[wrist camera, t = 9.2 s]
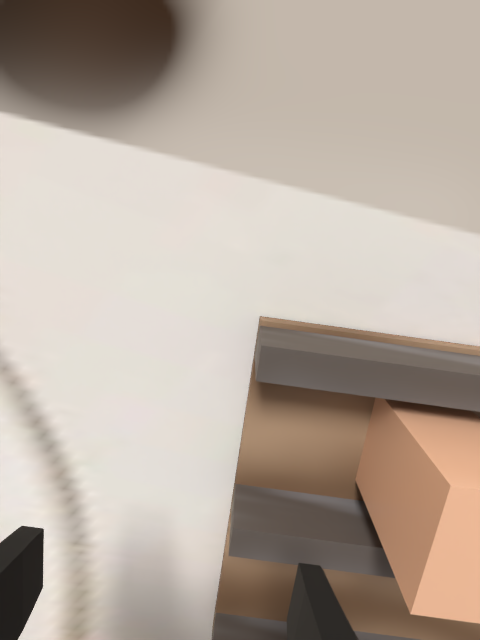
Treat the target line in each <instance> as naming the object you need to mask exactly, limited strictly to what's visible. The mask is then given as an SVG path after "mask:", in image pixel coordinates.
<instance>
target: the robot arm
mask: <svg viewBox="0 0 480 640" xmlns="http://www.w3.org/2000/svg"><path fill="white" fill-rule="evenodd" d="M43 538H44V529H42V528H35V527H27V526H21V527H20V528H18V529H17V530H16V531H14V532H13V533H12V534H11V535H9V536H8V537H7V538H6V539H4V540H3V541H2V542H1V543H0V640H18V638H19V636H20V634H21V633H22V631H23V629H24V627H25V625H26V623H27V620H28V618H29V616H30V614H31V612H32V610H33V608H34V605H35V603H36V601H37V599H38V597H39V594H40V592H41V590H42V588H43ZM287 640H359V639H358V638H357V636H356V634H355V632H354V630H353V629H352V627H351V625H350V623H349V621H348V619H347V617H346V615H345V613H344V611H343V609H342V607H341V606H340V604H339V602H338V600H337V598H336V596H335V594H334V591H333V589H332V587H331V585H330V583H329V581H328V579H327V577H326V575H325V572H324V570H323V569H322V567H321V566H320V565H313V564H305V563H298V568H297V573H296V578H295V582H294V587H293V592H292V596H291V601H290V606H289V611H288V615H287Z"/></svg>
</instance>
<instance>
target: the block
mask: <svg viewBox="0 0 480 640" xmlns="http://www.w3.org/2000/svg"><path fill="white" fill-rule="evenodd" d="M355 480H356V483H357V485H358V488H359V490H360V492H361V495H362V497H363V500H364V502H365V505H366V507H367V509H368V512H369V514H370V517H371V519H372V522H373V524H374V527H375V529H376V531H377V534H378V536H379V539H380V541H381V544H382V546H383V549H384V551H385V553H386V556H387V558H388V561H389V563H390V566H391V568H392V571H393V573H394V575H395V578H396V580H397V583H398V585H399V588H400V590H401V593H402V595H403V597H404V600H405V602H406V605H407V607H408V610H409V612H410V614H413V615H420V616H427V617H435V618H442V619H450V620H457V621H464V622H472V623H479V624H480V418H479V417H478V416H477V415H476V414H474V413H473V412H472V411H470V410H463V409H455V408H448V407H441V406H434V405H426V404H419V403H412V402H404V401H397V400H390V399H382V398H375V401H374V406H373V410H372V414H371V418H370V422H369V426H368V430H367V434H366V438H365V442H364V447H363V451H362V455H361V459H360V463H359V467H358V471H357V475H356V479H355Z"/></svg>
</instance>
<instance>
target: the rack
mask: <svg viewBox="0 0 480 640" xmlns="http://www.w3.org/2000/svg"><path fill="white" fill-rule="evenodd" d="M375 398H382V399H390V400H397V401H404V402H412V403H419V404H426V405H434V406H441V407H448V408H455V409H463V410H470V411H472V412H473V413H474V414H476V415H477V416H478V417H479V418H480V347H479V346H471V345H464V344H457V343H450V342H443V341H435V340H428V339H421V338H414V337H406V336H399V335H392V334H385V333H377V332H370V331H363V330H356V329H349V328H341V327H334V326H327V325H320V324H312V323H305V322H298V321H291V320H283V319H276V318H269V317H262V316H260V319H259V326H258V332H257V339H256V345H255V352H254V359H253V365H252V372H251V378H250V385H249V391H248V398H247V404H246V411H245V417H244V424H243V431H242V437H241V444H240V450H239V457H238V463H237V470H236V476H235V483H234V489H233V496H232V503H231V509H230V516H229V522H228V529H227V535H226V542H225V548H224V555H223V561H222V568H221V575H220V581H219V588H218V594H217V601H216V607H215V614H214V620H213V630H212V640H287V615H288V611H289V606H290V601H291V596H292V592H293V587H294V582H295V578H296V573H297V568H298V563H305V564H313V565H320V566H321V567H322V569H323V570H324V572H325V575H326V577H327V579H328V581H329V583H330V585H331V587H332V589H333V591H334V594H335V596H336V598H337V600H338V602H339V604H340V606H341V607H342V609H343V611H344V613H345V615H346V617H347V619H348V621H349V623H350V625H351V627H352V629H353V630H354V632H355V634H356V636H357V638H358V639H359V640H480V624H479V623H472V622H464V621H457V620H450V619H442V618H435V617H427V616H420V615H413V614H410V612H409V610H408V607H407V605H406V602H405V600H404V597H403V595H402V593H401V590H400V588H399V585H398V583H397V580H396V578H395V575H394V573H393V571H392V568H391V566H390V563H389V561H388V558H387V556H386V553H385V551H384V549H383V546H382V544H381V541H380V539H379V536H378V534H377V531H376V529H375V527H374V524H373V522H372V519H371V517H370V514H369V512H368V509H367V507H366V505H365V502H364V500H363V497H362V495H361V492H360V490H359V488H358V485H357V483H356V480H355V479H356V475H357V471H358V467H359V463H360V459H361V455H362V451H363V447H364V442H365V438H366V434H367V430H368V426H369V422H370V418H371V414H372V410H373V406H374V401H375Z"/></svg>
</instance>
